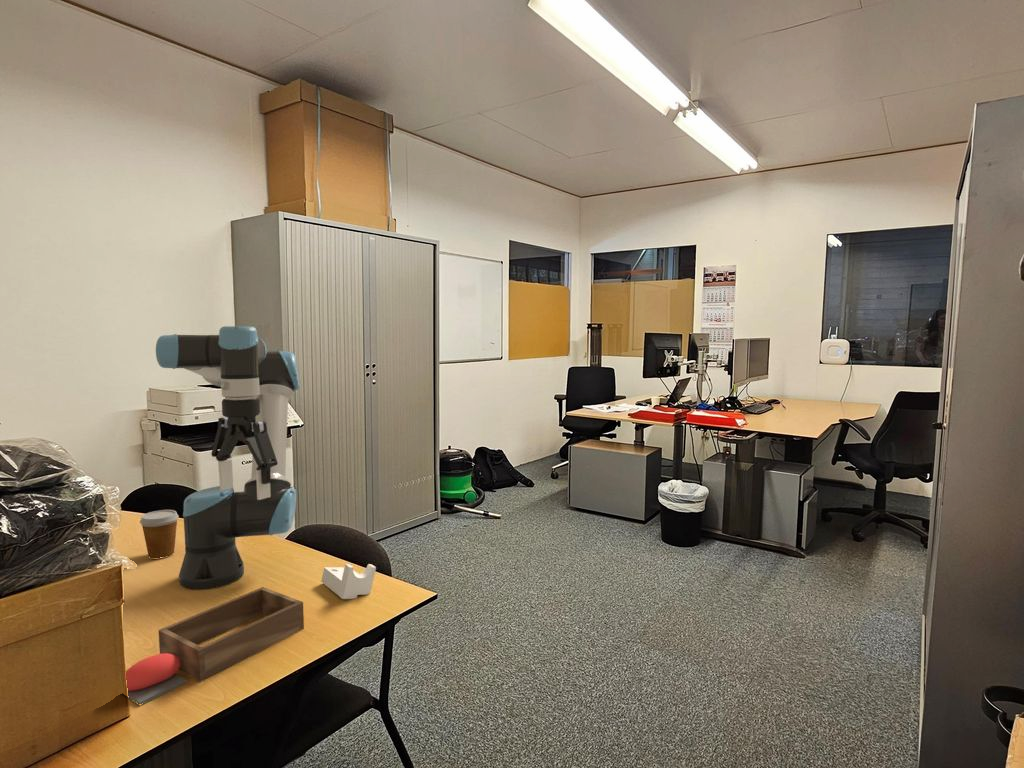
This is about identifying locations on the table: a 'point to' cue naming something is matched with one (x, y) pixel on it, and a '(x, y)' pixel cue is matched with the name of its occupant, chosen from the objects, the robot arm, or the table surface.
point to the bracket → (349, 580)
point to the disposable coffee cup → (160, 532)
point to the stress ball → (151, 671)
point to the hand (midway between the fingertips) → (244, 493)
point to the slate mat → (156, 689)
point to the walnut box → (239, 644)
